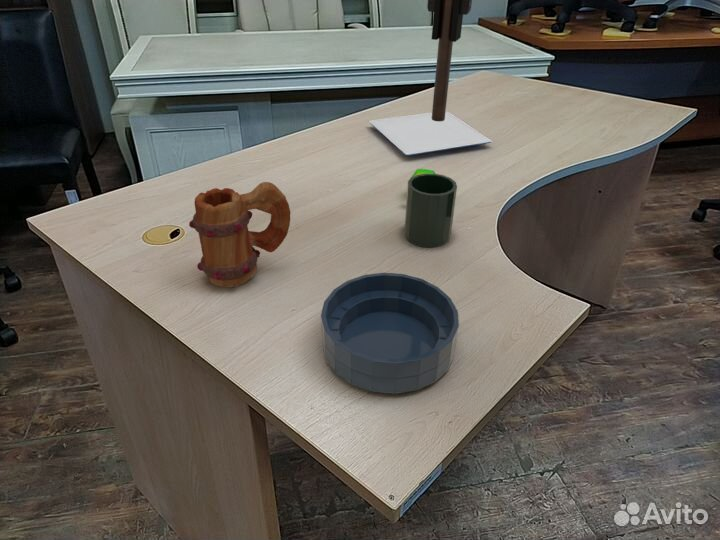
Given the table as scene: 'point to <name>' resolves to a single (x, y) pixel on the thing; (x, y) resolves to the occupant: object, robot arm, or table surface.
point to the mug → (237, 231)
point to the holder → (429, 209)
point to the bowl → (389, 332)
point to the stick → (443, 62)
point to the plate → (428, 133)
